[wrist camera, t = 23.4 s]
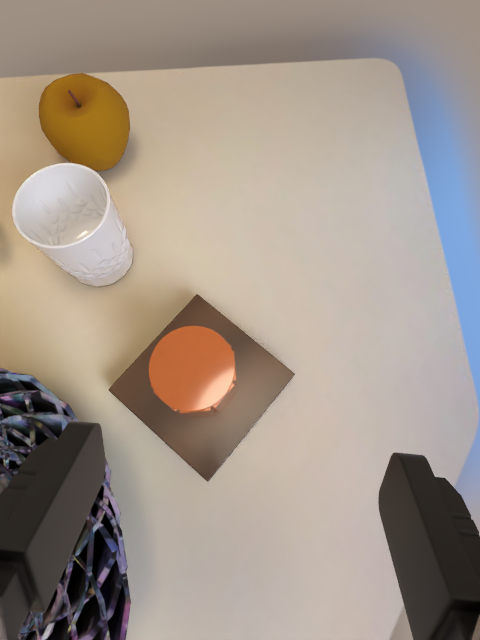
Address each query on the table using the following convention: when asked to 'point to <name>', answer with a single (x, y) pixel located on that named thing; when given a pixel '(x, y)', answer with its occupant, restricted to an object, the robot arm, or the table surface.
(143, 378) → the cup stand
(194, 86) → the table surface
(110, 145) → the apple
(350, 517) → the table surface
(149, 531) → the table surface
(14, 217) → the white cup
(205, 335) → the orange cup
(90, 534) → the decorative bowl
